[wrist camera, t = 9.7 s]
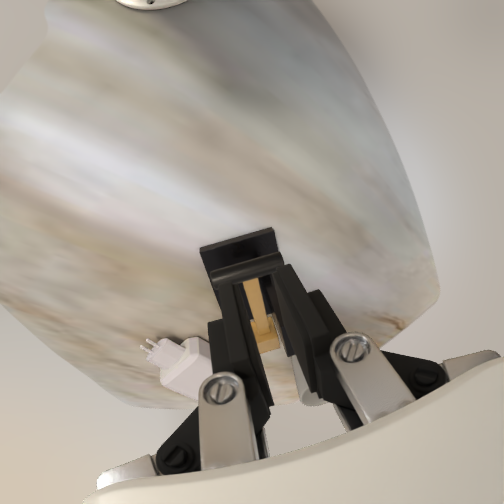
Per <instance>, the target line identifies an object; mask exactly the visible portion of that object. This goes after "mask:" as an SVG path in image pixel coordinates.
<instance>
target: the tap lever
mask: <svg viewBox="0 0 504 504" xmlns="http://www.w3.org/2000/svg"><path fill="white" fill-rule="evenodd" d="M280 266H284V261H283V257H282V255H281V253H280V252H275V253H272V254H269V255H265V256H262V257H258V258H255V259H252V260H248V261H245V262H241V263H238V264H235V265H231V266H228V267H224V268H221V269H217V270H214V271H211V272H210V277H211V281H212V284H213V287H214V289H215V290H217V289H218V285H219V284H223V283H226V282H230V281H232V284H236V283H242V282H243V285H244V289H245V292H246V295H247V298H248V301H249V305H250V308H251V311H252V314H253V317H254V320H255V321H254V322H251V326H252V329H253V332H254V335H255V339H256V342H257V346H258V349H259V353H260V354H261V353H265V352H268V351H271V350H275V349H278V348H280V344H279V338H278V335H277V332H276V329H275V326H274V323H273V320H272V317H268V318H267V315H266V311H265V306H264V302H263V298H262V294H261V289H260V285H259V281H258V278H259V277H262V276H265V275H269V274H272V273H273V272H277V270H276V268H277V267H280Z"/></svg>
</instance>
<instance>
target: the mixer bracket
mask: <svg viewBox="0 0 504 504" xmlns="http://www.w3.org/2000/svg"><path fill="white" fill-rule="evenodd" d="M275 252H278V247H277V242H276V238H275V233H274V230H273V228H272V227H270V228H267V229H263V230H260V231H256V232H253V233H249V234H246V235H242V236H239V237H235V238H232V239H229V240H225V241H222V242H218V243H215V244H212V245H208V246H205V247H201V248H200V255H201V257H202V260H203V263H204V266H205V269H206V271H207V274H208V277H209V279H210V282H211V285H212V287H213V284H212V281H211V277H210V272H211V271H214V270H217V269H221V268H224V267H228V266H231V265H235V264H238V263H241V262H245V261H248V260H252V259H255V258H258V257H262V256H265V255H269V254H272V253H275ZM258 281H259V285H260V289H261V294H262V298H263V302H264V306H265V311H266V315H267V314H272V316H273V319H274V322H275V325H276V327H277V330H278V333H279V335H280V338H281V341H282V343H283V346H284V349H285V351H286V354H287V357H290V356H293V355H295V352H294V350H293V347H292V345H291V342H290V340H289V337H288V335H287V332H286V330H285V327H284V323H283V319H282V315H281V310H280V306H279V302H278V297H277V293H276V288H275V284H274V280H273V275H272V274H269V275H265V276H262V277H259V278H258ZM238 285H239V288H240V292H241V295H242V298H243V301H244V304H245V307H246V310H247V313H248V317H249V320H251V319H254V317H253V314H252V311H251V308H250V305H249V301H248V298H247V295H246V292H245V289H244V285H243V282H242V283H238ZM213 290H214V293H215V295H216V298H217V301H218V303H219V306H220V309H221V304H220V297H219V291H218V289H217V290H215V289H214V287H213ZM221 311H222V310H221Z"/></svg>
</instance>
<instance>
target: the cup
mask: <svg viewBox="0 0 504 504" xmlns="http://www.w3.org/2000/svg"><path fill="white" fill-rule="evenodd" d="M292 365H293V370H294V375H295V381H296V385H297V389H298V394H299V398H300V401H301V402H302V404H304V405H306V406H319V405H323V404H326V403H328V402H327V401H324V400H323V398H321V399H319V398H318V395H317V393H316V392H314V393H312V394H311V392H310V390H309V387H308V385H307V382H306V380H305V377H304V375H303V372H302V370H301V367H300V365H299V362H298V360H297V357H296V355H293V356H292Z"/></svg>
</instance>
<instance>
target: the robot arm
mask: <svg viewBox="0 0 504 504" xmlns="http://www.w3.org/2000/svg"><path fill="white" fill-rule="evenodd" d="M116 1H117V2H119V3H121V4H123V5H125V6H128V7H131V8H135V9H141V10H155V9H162V8H167V7H171V6H175V5H178V4H180V3H183V2H185V1H187V0H116ZM151 2H154V3H153V4H151V5H150V3H151ZM276 270H277V272H273V273H272V275H273V280H274V284H275V288H276V293H277V297H278V302H279V306H280V310H281V315H282V319H283V323H284V327H285V330H286V332H287V335H288V337H289V340H290V342H291V345H292V347H293V350H294V352H295V355H296V357H297V360H298V362H299V365H300V367H301V370H302V372H303V375H304V377H305V380H306V382H307V385H308V387H309V390H310V392H311V394H312V393H314V392H316V393H317V395H318V398H319V399H321V398H323V400H324V401H327V402H330V403H333V406H334V408H335V410H336V412H337V414H338V416H339V418H340V420H341V422H342V424H343V426H344V428H345V430H346V432H347V433H344V434H342V435H339V436H337V437H334V438H331V439H328V440H325V441H323V442H320V443H317V444H314V445H311V446H308V447H304V448H301V449H298V450H295V451H291V452H288V453H284V454H281V455H277V456H273V457H270V453H269V448H268V444H267V438H266V434H265V428H264V425H265V424H266V422H267V421H268V419H269V418H270V415H271V413H270V409H269V407H270V406H273V405H274V402H273V399H272V395H271V392H270V388H269V385H268V381H267V378H266V374H265V371H264V367H263V364H262V360H261V357H260V353H259V349H258V346H257V342H256V339H255V335H254V332H253V329H252V326H251V323H250V320H249V317H248V313H247V310H246V307H245V304H244V301H243V298H242V295H241V292H240V288H239V285H238V283H236V284H232V281H230V282H226V283H223V284H219V285H218V291H219V297H220V304H221V310H222V317H223V319H219V320H215V321H212V322H208V335H209V345H210V355H211V364H212V373H213V375H211V376H209V377H208V378H206V379H205V380H204V381H203V383H202V384H201V386H200V388H199V393H198V407H197V408H196V409H195V410H194V411H193V412H192V413H191V414H190V415H189V417H188V418H187V419H186V420H185V421H184V422H183V423H182V424H181V425H180V426H179V428H178V429H177V430H176V431H175V432H174V433H173V434H172V435H171V436H170V437H169V438H168V439H167V440H166V441H165V442H164V444H163V445H162V446H161V447H160V448H159V450H158V451H157V454H155V455H152V456H150V455H149V454H148V455H145V456H143V457H141V458H138V459H136V460H133V461H130V462H128V463H125V464H123V465H120V466H117V467H115V468H112V469H109V470H107V471H105V472H103V473H102V474H101V475H100V476H99V477H98V480H97V491H95V492H93V493H92V494H90V495H89V496H88V497H87V498H86V499H85V500H84V501H83V503H82V504H504V357H501V356H500V355H499V354H498V353H497V352H495V351H492V350H484V351H480V352H476V353H472V354H468V355H465V356H460V357H456V358H452V359H447V360H444V361H443V363H441V364H437V363H436V362H433V361H430V360H425V359H420V358H415V357H410V356H405V355H400V354H395V353H390V352H386V351H382V350H380V349H379V348H378V347H377V345H376V344H375V343H374V341H373V340H372V339H371V338H370V337H369V336H368V335H365V334H363V333H359V332H348V333H347V332H346V330H345V329H344V327H343V325H342V324H341V322H340V321H339V319H338V317H337V316H336V314H335V313H334V311H333V310H332V308H331V306H330V305H329V303H328V302H327V300H326V298H325V297H324V295H323V294H322V292H321V291H320V290H319V289H318V290H315V291H312V292H309V293H307V292H306V290H305V288H304V287H303V285H302V283H301V281H300V280H299V278H298V276H297V274H296V273H295V271H294V269H293V268H292V266H291V264H287V265H284V266H280V267H277V268H276Z"/></svg>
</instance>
